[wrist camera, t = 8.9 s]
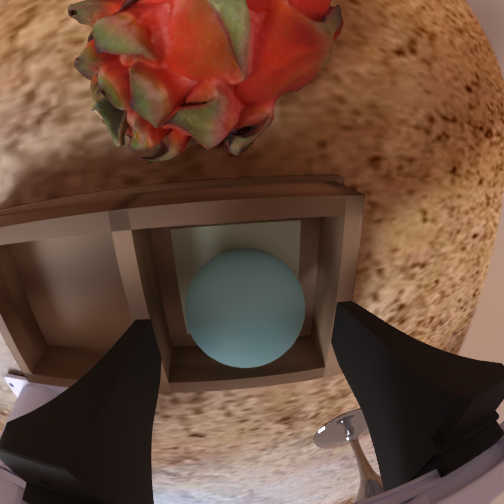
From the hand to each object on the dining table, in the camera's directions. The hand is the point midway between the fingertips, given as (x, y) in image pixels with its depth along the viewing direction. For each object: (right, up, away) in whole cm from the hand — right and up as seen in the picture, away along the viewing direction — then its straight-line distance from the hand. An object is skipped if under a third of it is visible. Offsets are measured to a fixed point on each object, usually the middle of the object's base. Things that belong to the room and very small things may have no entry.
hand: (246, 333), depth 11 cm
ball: (0, +1, +1) cm, 2 cm away
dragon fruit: (-2, +13, 0) cm, 13 cm away
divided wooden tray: (-5, +2, +4) cm, 6 cm away
